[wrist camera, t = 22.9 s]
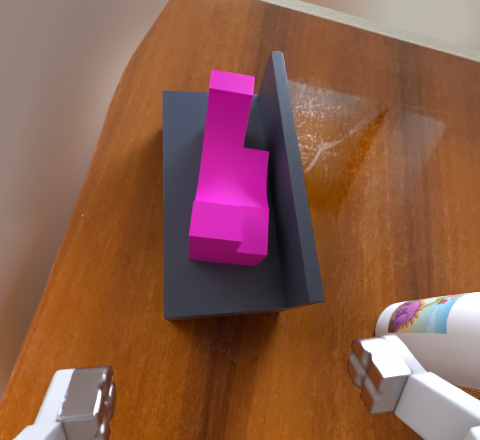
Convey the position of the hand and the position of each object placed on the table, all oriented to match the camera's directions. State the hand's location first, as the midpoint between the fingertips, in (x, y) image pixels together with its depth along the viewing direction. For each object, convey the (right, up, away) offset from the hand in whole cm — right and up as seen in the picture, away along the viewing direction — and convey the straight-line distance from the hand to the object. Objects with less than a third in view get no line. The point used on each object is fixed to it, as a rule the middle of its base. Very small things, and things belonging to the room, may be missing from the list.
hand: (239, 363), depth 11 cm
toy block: (-1, +8, +21) cm, 23 cm away
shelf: (-2, +6, +27) cm, 27 cm away
